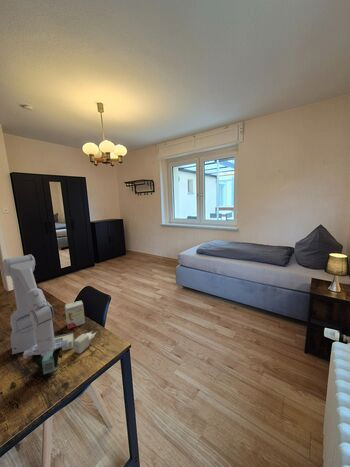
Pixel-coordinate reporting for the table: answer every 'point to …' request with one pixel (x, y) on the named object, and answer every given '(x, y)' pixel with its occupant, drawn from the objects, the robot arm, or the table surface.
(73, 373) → the table surface
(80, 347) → the power adapter
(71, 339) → the block
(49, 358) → the grey-green boxy piece
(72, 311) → the ink box
